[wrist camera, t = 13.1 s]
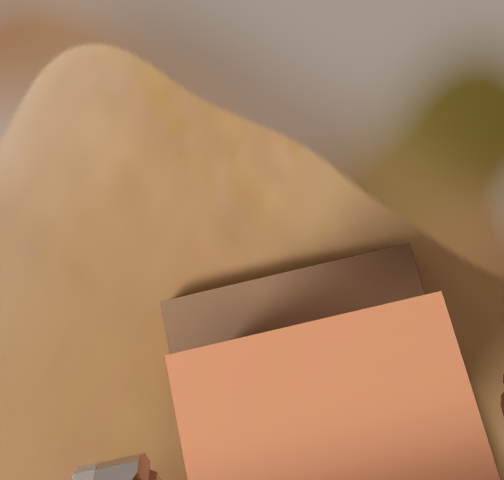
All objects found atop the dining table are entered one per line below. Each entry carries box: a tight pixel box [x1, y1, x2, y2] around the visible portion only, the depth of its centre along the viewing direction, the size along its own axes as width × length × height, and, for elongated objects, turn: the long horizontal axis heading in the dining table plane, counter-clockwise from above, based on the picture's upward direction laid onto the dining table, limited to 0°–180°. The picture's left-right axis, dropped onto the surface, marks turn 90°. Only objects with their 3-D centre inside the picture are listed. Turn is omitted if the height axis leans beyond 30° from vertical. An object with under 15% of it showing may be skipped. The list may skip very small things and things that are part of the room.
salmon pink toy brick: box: [165, 291, 500, 480], centre depth 13 cm, size 6×6×9 cm
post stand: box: [160, 243, 425, 354], centre depth 15 cm, size 10×10×8 cm
